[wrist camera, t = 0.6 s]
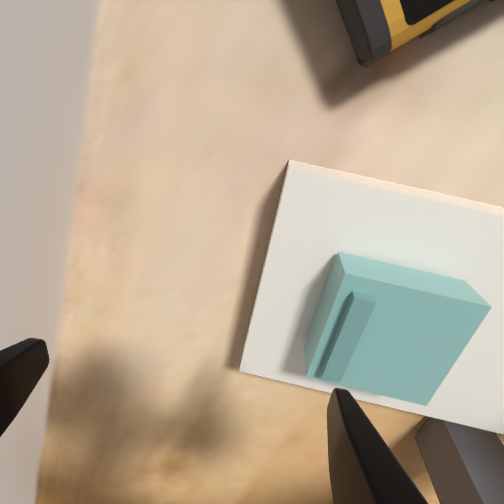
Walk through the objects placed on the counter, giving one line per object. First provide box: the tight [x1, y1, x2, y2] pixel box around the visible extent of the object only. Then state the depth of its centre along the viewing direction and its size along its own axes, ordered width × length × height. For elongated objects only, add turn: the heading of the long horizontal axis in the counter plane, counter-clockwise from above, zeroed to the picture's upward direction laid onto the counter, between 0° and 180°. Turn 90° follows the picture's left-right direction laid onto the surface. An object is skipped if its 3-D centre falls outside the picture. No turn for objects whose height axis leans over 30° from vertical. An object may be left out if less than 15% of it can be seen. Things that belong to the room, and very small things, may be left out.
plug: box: [415, 417, 504, 504], centre depth 21 cm, size 4×4×9 cm
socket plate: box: [239, 160, 504, 434], centre depth 19 cm, size 19×14×3 cm
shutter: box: [304, 252, 492, 406], centre depth 16 cm, size 7×7×3 cm
